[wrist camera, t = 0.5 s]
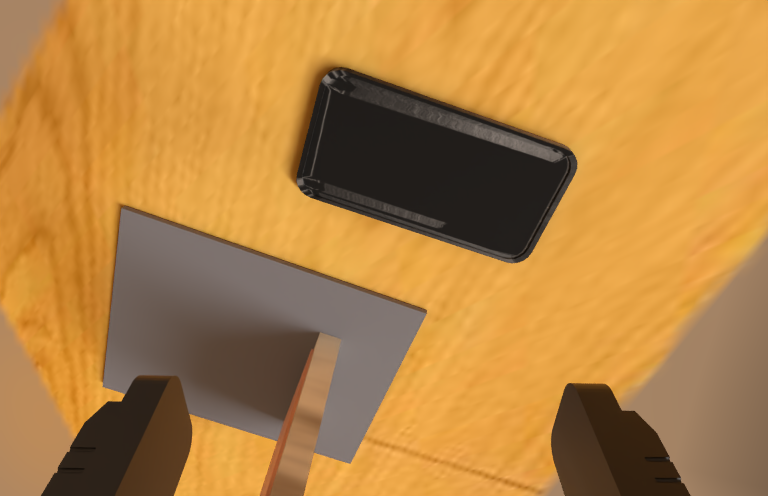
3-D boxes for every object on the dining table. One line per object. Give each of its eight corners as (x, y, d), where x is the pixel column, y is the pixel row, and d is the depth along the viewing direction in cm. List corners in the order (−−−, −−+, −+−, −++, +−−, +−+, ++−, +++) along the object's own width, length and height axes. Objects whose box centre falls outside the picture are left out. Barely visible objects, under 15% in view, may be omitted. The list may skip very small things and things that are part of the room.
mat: (124, 205, 33) (121, 208, 33) (426, 310, 35) (426, 313, 35) (105, 383, 42) (102, 386, 41) (350, 459, 44) (350, 463, 43)
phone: (325, 63, 27) (585, 155, 28) (328, 60, 28) (580, 149, 29) (292, 193, 31) (522, 269, 32) (296, 186, 32) (519, 260, 33)
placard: (317, 331, 37) (259, 517, 24) (341, 339, 37) (295, 528, 25) (283, 421, 42) (220, 614, 29) (304, 428, 42) (251, 622, 30)
